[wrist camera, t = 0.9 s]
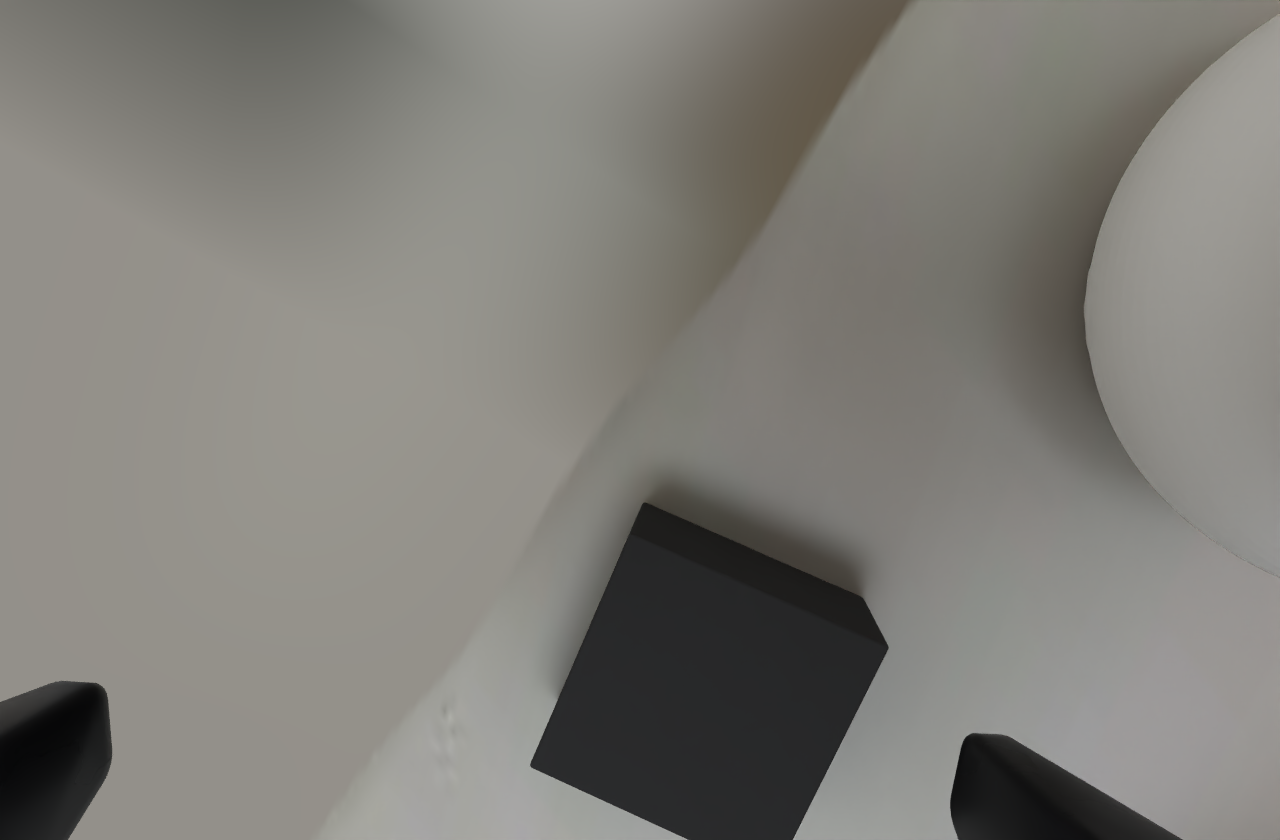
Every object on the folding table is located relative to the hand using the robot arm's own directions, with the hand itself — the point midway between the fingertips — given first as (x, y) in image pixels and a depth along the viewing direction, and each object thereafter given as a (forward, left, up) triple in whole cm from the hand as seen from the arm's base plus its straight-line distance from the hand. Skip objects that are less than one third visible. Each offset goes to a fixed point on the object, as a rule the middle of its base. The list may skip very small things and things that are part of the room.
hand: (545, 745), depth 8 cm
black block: (-3, +3, -11) cm, 12 cm away
